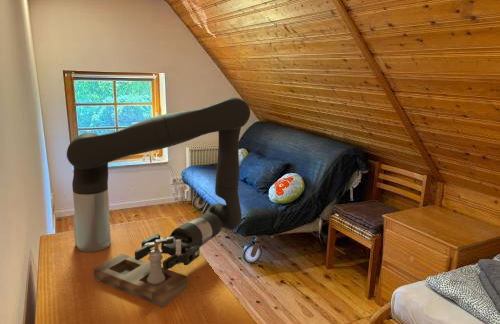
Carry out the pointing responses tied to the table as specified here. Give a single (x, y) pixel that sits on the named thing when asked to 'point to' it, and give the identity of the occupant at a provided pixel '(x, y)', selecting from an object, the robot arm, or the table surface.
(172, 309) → the table surface
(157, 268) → the rook chess piece
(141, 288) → the slot rail
